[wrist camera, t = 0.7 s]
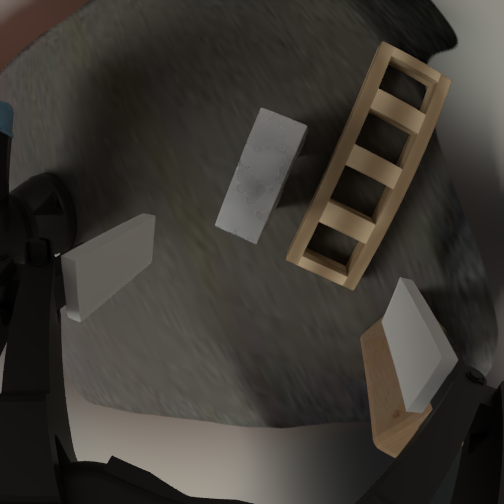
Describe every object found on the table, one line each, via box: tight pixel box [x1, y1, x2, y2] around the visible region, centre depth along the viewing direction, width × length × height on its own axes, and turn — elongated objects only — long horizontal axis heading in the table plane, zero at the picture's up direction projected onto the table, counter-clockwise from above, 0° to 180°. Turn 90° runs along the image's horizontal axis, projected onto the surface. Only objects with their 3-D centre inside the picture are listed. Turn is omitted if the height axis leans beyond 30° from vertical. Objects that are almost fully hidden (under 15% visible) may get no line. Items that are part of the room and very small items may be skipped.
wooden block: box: [360, 316, 464, 458], centre depth 31 cm, size 10×10×20 cm
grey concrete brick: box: [215, 107, 309, 244], centre depth 31 cm, size 4×11×12 cm, turn 158°
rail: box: [286, 41, 452, 290], centre depth 32 cm, size 9×28×4 cm, turn 158°
